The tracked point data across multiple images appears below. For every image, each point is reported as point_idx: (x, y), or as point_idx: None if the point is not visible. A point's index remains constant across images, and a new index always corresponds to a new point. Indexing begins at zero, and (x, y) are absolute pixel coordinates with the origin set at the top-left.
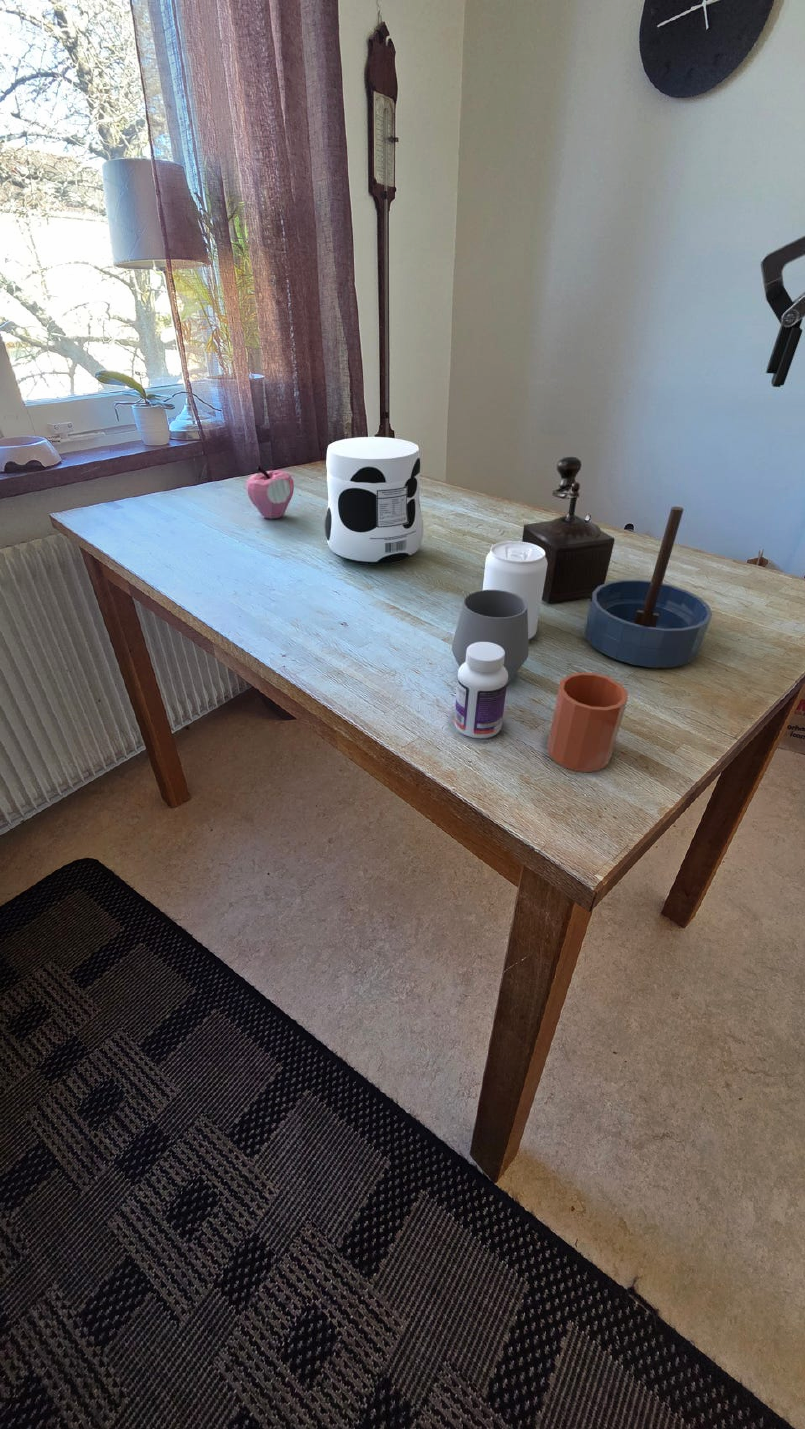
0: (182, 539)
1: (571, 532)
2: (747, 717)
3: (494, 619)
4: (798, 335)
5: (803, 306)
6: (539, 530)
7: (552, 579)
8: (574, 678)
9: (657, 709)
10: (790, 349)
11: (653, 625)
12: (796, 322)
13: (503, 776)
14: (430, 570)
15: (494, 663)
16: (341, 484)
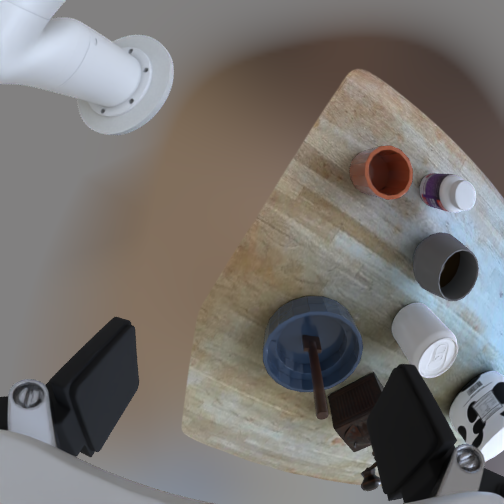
0: None
1: None
2: (241, 247)
3: (461, 248)
4: (433, 436)
5: (461, 485)
6: None
7: (378, 385)
8: (401, 190)
9: (309, 240)
10: (432, 409)
11: (305, 342)
12: (453, 456)
13: (412, 138)
14: (445, 387)
15: (458, 182)
16: None
